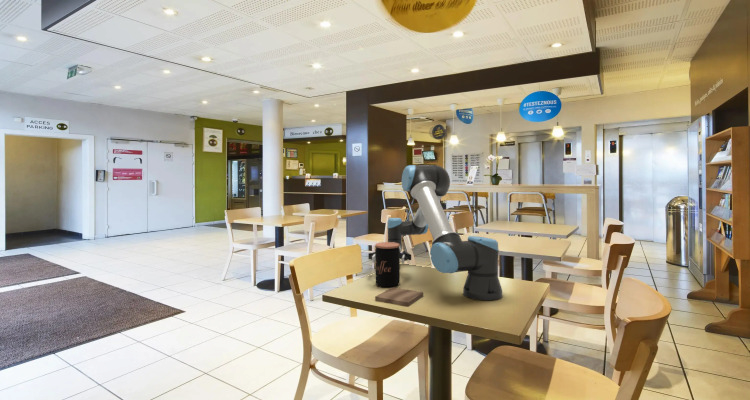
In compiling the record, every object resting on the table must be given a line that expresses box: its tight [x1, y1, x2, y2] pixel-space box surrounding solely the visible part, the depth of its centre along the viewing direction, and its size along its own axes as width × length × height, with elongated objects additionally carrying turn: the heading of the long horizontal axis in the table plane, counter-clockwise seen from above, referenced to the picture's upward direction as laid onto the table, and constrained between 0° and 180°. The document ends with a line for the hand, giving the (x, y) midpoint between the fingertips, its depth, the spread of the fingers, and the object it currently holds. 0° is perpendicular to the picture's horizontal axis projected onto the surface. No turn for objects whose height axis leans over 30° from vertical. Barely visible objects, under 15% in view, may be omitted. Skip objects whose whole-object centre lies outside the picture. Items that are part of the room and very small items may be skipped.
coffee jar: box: [374, 241, 401, 289], centre depth 168 cm, size 11×11×18 cm
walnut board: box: [374, 287, 424, 307], centre depth 150 cm, size 14×14×2 cm
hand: (387, 260), depth 172 cm, fingers open, 13 cm apart
